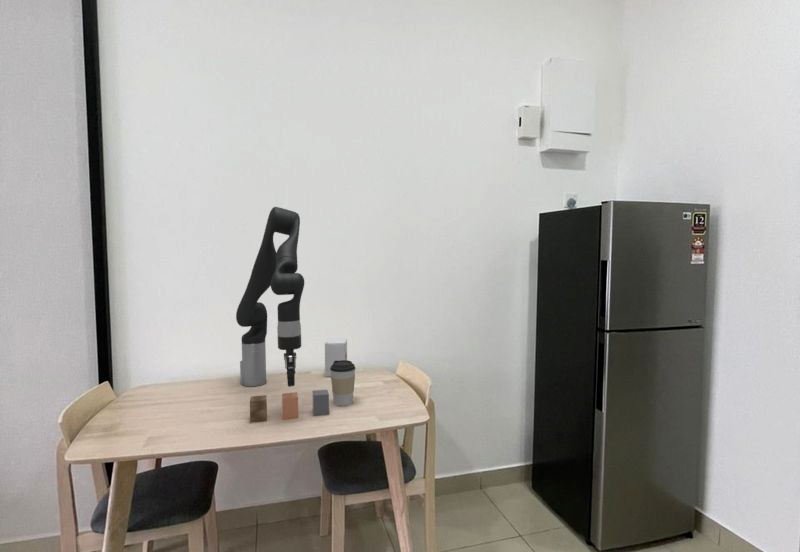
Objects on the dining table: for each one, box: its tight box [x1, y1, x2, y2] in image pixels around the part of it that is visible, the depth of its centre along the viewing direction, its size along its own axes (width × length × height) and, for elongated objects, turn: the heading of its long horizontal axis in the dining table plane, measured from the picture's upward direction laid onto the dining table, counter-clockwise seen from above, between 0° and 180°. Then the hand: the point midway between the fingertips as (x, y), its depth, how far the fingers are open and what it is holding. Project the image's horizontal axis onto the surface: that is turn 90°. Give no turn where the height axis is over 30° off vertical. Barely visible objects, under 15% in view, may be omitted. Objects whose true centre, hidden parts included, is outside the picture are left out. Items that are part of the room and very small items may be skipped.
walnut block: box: [249, 394, 268, 424], centre depth 141 cm, size 5×5×7 cm
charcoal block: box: [312, 389, 330, 417], centre depth 146 cm, size 5×5×7 cm
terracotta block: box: [281, 391, 299, 420], centre depth 144 cm, size 5×5×7 cm
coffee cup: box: [330, 359, 356, 407], centre depth 155 cm, size 9×9×15 cm
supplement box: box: [324, 338, 348, 378], centre depth 190 cm, size 9×9×15 cm
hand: (290, 382), depth 143 cm, fingers open, 8 cm apart
